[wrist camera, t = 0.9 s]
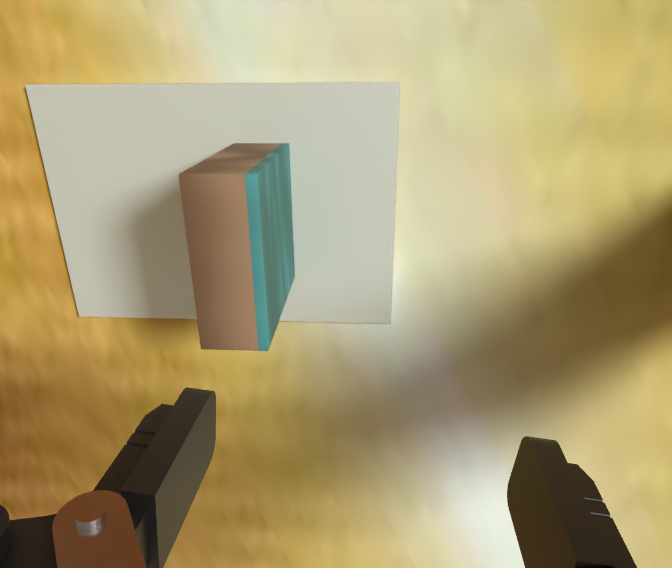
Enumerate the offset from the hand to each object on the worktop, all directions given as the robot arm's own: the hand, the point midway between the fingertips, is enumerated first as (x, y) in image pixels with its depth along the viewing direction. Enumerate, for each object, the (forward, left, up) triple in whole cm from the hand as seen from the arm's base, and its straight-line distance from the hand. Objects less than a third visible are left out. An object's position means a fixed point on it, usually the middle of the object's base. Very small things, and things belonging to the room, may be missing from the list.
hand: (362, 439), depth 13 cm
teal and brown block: (+7, 0, -22) cm, 23 cm away
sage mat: (+10, 0, -22) cm, 24 cm away
